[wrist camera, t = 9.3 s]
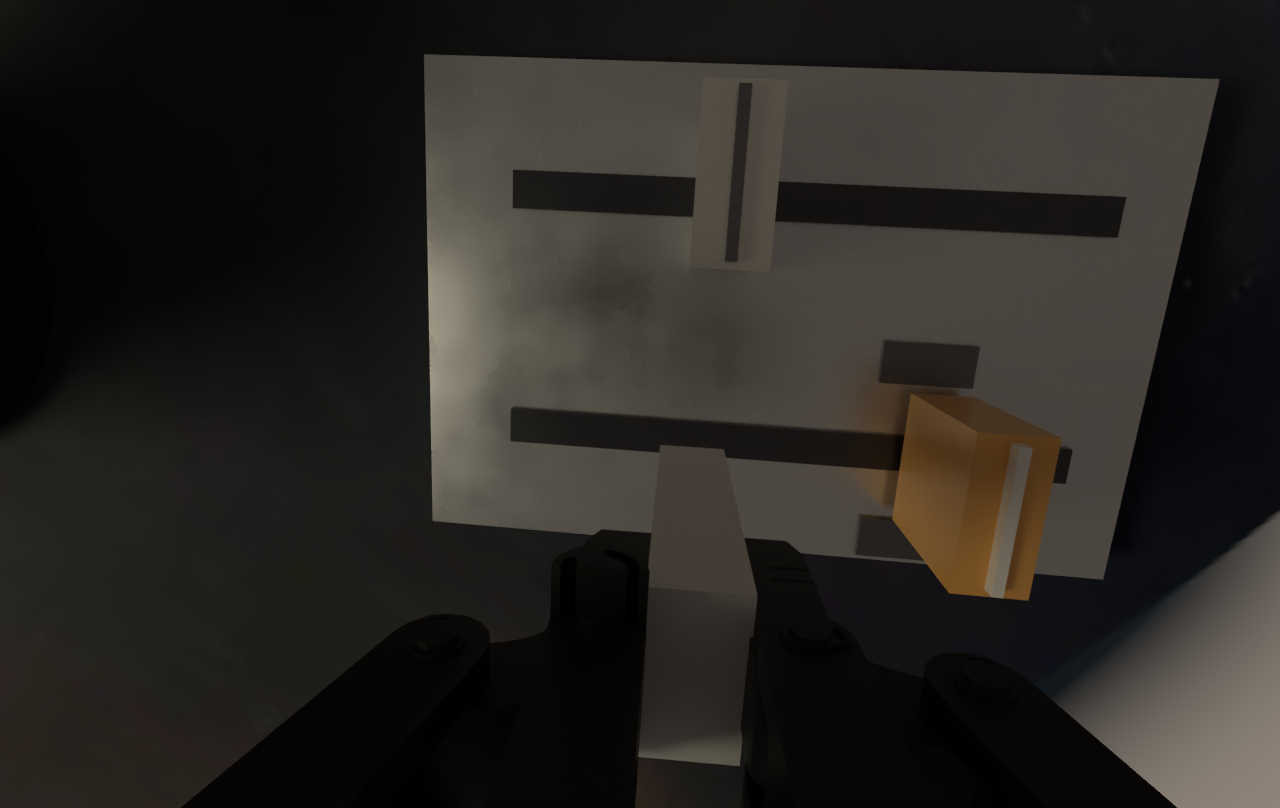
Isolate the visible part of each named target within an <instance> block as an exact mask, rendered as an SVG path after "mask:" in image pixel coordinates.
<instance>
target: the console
mask: <svg viewBox="0 0 1280 808" xmlns="http://www.w3.org/2000/svg"><path fill="white" fill-rule="evenodd" d="M1219 80H1220V79H1197V78H1165V77H1133V76H1101V75H1069V74H1037V73H1005V72H973V71H941V70H909V69H877V68H845V67H813V66H781V65H748V64H716V63H684V62H652V61H620V60H588V59H556V58H524V57H492V56H460V55H428V54H424V82H425V134H426V187H427V239H428V292H429V344H430V397H431V450H432V502H433V521H440V522H452V523H463V524H475V525H486V526H498V527H509V528H520V529H532V530H543V531H555V532H566V533H578V534H589V535H594V534H596V533H597V532H598V531H600V530H601V529H605V530H619V531H632V532H645V533H652V524H653V513H654V503H655V493H656V483H657V473H658V463H659V453H660V445H669V446H684V447H698V448H713V449H724V452H725V457H726V461H727V465H728V470H729V474H730V478H731V483H732V487H733V491H734V496H735V500H736V504H737V509H738V513H739V517H740V522H741V526H742V530H743V535H744V538H753V539H767V540H780V541H787V542H788V543H789V544H790V545H792V546H793V547H794V548H795V549H797V550H798V551H799V552H800V553H807V554H818V555H829V556H841V557H852V558H864V559H875V560H887V561H898V562H910V563H921V564H926V562H925V561H924V560H923V559H922V557H921V556H920V555H919V553H918V552H917V551H916V549H915V548H914V547H913V546H912V544H911V543H910V542H909V540H908V539H907V538H906V537H905V535H904V534H903V533H902V531H901V530H900V529H899V528H898V526H897V525H896V524H895V522H894V521H893V520H892V516H893V510H894V503H895V496H896V490H897V483H898V476H899V470H900V463H901V456H902V450H903V443H904V436H905V430H906V423H907V416H908V410H909V403H910V397H911V393H918V394H933V395H948V396H962V397H975V398H977V399H979V400H981V401H983V402H986V403H988V404H990V405H992V406H994V407H996V408H998V409H1000V410H1003V411H1005V412H1007V413H1009V414H1011V415H1013V416H1015V417H1018V418H1020V419H1022V420H1024V421H1026V422H1028V423H1030V424H1033V425H1035V426H1037V427H1039V428H1041V429H1043V430H1045V431H1047V432H1050V433H1052V434H1054V435H1056V436H1058V437H1060V438H1062V440H1061V445H1060V450H1059V455H1058V460H1057V465H1056V469H1055V474H1054V479H1053V484H1052V489H1051V494H1050V498H1049V503H1048V508H1047V513H1046V518H1045V523H1044V527H1043V532H1042V537H1041V542H1040V547H1039V552H1038V556H1037V561H1036V566H1035V571H1034V573H1035V574H1047V575H1058V576H1070V577H1081V578H1093V579H1103V577H1104V573H1105V568H1106V564H1107V560H1108V555H1109V551H1110V547H1111V543H1112V538H1113V534H1114V530H1115V525H1116V521H1117V517H1118V513H1119V508H1120V504H1121V500H1122V495H1123V491H1124V487H1125V483H1126V478H1127V474H1128V470H1129V465H1130V461H1131V457H1132V453H1133V448H1134V444H1135V440H1136V435H1137V431H1138V427H1139V423H1140V418H1141V414H1142V410H1143V405H1144V401H1145V397H1146V393H1147V388H1148V384H1149V380H1150V375H1151V371H1152V367H1153V363H1154V358H1155V354H1156V350H1157V345H1158V341H1159V337H1160V333H1161V328H1162V324H1163V320H1164V316H1165V311H1166V307H1167V303H1168V298H1169V294H1170V290H1171V286H1172V281H1173V277H1174V273H1175V268H1176V264H1177V260H1178V256H1179V251H1180V247H1181V243H1182V238H1183V234H1184V230H1185V226H1186V221H1187V217H1188V213H1189V208H1190V204H1191V200H1192V196H1193V191H1194V187H1195V183H1196V178H1197V174H1198V170H1199V166H1200V161H1201V157H1202V153H1203V148H1204V144H1205V140H1206V136H1207V131H1208V127H1209V123H1210V118H1211V114H1212V110H1213V106H1214V101H1215V97H1216V93H1217V88H1218V84H1219Z"/></svg>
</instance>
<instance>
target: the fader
mask: <svg viewBox="0 0 1280 808" xmlns="http://www.w3.org/2000/svg"><path fill="white" fill-rule="evenodd" d="M1061 440H1062V438H1060V437H1058V436H1056V435H1054V434H1052V433H1050V432H1047V431H1045V430H1043V429H1041V428H1039V427H1037V426H1035V425H1033V424H1030V423H1028V422H1026V421H1024V420H1022V419H1020V418H1018V417H1015V416H1013V415H1011V414H1009V413H1007V412H1005V411H1003V410H1000V409H998V408H996V407H994V406H992V405H990V404H988V403H986V402H983V401H981V400H979V399H977V398H975V397H962V396H948V395H933V394H918V393H911V397H910V403H909V410H908V416H907V423H906V430H905V436H904V443H903V450H902V456H901V463H900V470H899V476H898V483H897V490H896V496H895V503H894V510H893V516H892V520H893V521H894V522H895V524H896V525H897V526H898V528H899V529H900V530H901V531H902V533H903V534H904V535H905V537H906V538H907V539H908V540H909V542H910V543H911V544H912V546H913V547H914V548H915V549H916V551H917V552H918V553H919V555H920V556H921V557H922V559H923V560H924V561H925V562H926V564H927V565H928V566H929V568H930V569H931V570H932V571H933V573H934V574H935V575H936V577H937V578H938V579H939V580H940V582H941V583H942V584H943V586H944V587H945V588H946V589H947V591H948V592H949V593H952V594H963V595H974V596H985V597H995V598H1007V599H1018V600H1029V595H1030V590H1031V585H1032V581H1033V576H1034V571H1035V566H1036V561H1037V556H1038V552H1039V547H1040V542H1041V537H1042V532H1043V527H1044V523H1045V518H1046V513H1047V508H1048V503H1049V498H1050V494H1051V489H1052V484H1053V479H1054V474H1055V469H1056V465H1057V460H1058V455H1059V450H1060V445H1061Z"/></svg>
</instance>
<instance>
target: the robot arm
mask: <svg viewBox="0 0 1280 808" xmlns="http://www.w3.org/2000/svg"><path fill="white" fill-rule="evenodd" d="M45 324H46V293H45V284H44V277H43V271H42V266H41V261H40V257H39V253H38V249H37V246H36V243H35V240H34V237H33V234H32V231H31V228H30V226H29V223H28V221H27V218H26V216H25V214H24V212H23V209H22V207H21V205H20V203H19V201H18V199H17V198H16V196H15V194H14V192H13V190H12V188H11V187H10V185H9V183H8V182H7V180H6V178H5V177H4V175H3V174H2V172H1V171H0V420H1V419H2V418H3V417H4V416H5V415H6V414H7V413H8V412H9V411H10V410H11V409H12V408H13V407H14V405H15V404H16V403H17V402H18V401H19V399H20V398H21V396H22V395H23V393H24V392H25V390H26V388H27V386H28V385H29V383H30V381H31V379H32V376H33V374H34V372H35V369H36V367H37V364H38V361H39V358H40V354H41V350H42V346H43V340H44V334H45ZM808 570H809V569H808V567H807V564H806V562H805V559H804V557H803V555H802V554H801V553H800V552H799V551H798V550H797V549H795V548H794V547H793V546H792V545H790V544H789V543H788V542H787V541H780V540H767V539H753V538H744V535H743V530H742V526H741V522H740V517H739V513H738V509H737V504H736V500H735V496H734V491H733V487H732V483H731V478H730V474H729V470H728V465H727V461H726V457H725V452H724V449H713V448H698V447H684V446H669V445H660V453H659V463H658V473H657V483H656V493H655V503H654V513H653V524H652V533H645V532H632V531H619V530H605V529H601V530H600V531H598V532H597V533H596V534H594V535H593V536H592V537H590V538H589V539H588V540H587V541H586V544H585V546H584V547H579V548H574V549H571V550H569V551H566V552H564V553H562V554H560V555H559V556H558V557H557V558H556V559H555V560H554V561H553V563H552V567H551V613H550V621H549V624H548V627H547V630H545V631H543V632H542V633H539V634H537V635H534V636H531V637H528V638H524V639H519V640H513V641H506V642H497V643H490V636H489V630H488V629H487V628H486V627H485V626H484V625H483V624H482V623H481V622H480V621H478V620H475V619H473V618H470V617H468V616H463V615H454V614H440V615H438V614H436V615H430V616H427V617H424V618H420V619H417V620H414V621H411V622H409V623H407V624H405V625H404V626H402V627H400V628H399V629H397V630H395V631H394V632H392V633H391V634H390V635H389V636H388V637H386V638H385V639H384V640H383V641H382V642H380V643H379V644H378V645H377V646H376V647H374V648H373V649H372V650H371V651H370V652H368V653H367V654H366V655H365V656H363V657H362V658H361V659H360V660H359V661H357V662H356V663H355V664H354V665H353V666H351V667H350V668H349V669H348V670H347V671H345V672H344V673H343V674H342V675H341V676H339V677H338V678H337V679H336V680H334V681H333V682H332V683H331V684H330V685H328V686H327V687H326V688H325V689H324V690H322V691H321V692H320V693H319V694H318V695H316V696H315V697H314V698H313V699H312V700H310V701H309V702H308V703H307V704H305V705H304V706H303V707H302V708H301V709H299V710H298V711H297V712H296V713H295V714H293V715H292V716H291V717H290V718H289V719H287V720H286V721H285V722H284V723H283V724H281V725H280V726H279V727H278V728H277V729H275V730H274V731H273V732H272V733H270V734H269V735H268V736H267V737H266V738H264V739H263V740H262V741H261V742H260V743H258V744H257V745H256V746H255V747H254V748H252V749H251V750H250V751H249V752H248V753H246V754H245V755H244V756H243V757H241V758H240V759H239V760H238V761H237V762H235V763H234V764H233V765H232V766H231V767H229V768H228V769H227V770H226V771H225V772H223V773H222V774H221V775H220V776H219V777H217V778H216V779H215V780H214V781H212V782H211V783H210V784H209V785H208V786H206V787H205V788H204V789H203V790H202V791H200V792H199V793H198V794H197V795H196V796H194V797H193V798H192V799H191V800H190V801H188V802H187V803H186V804H185V805H184V806H182V807H181V808H635V798H636V785H637V769H638V757H647V758H658V759H669V760H680V761H691V762H702V763H713V764H724V765H734V766H740V756H741V747H742V740H743V748H744V755H745V763H746V764H745V773H744V782H743V791H742V800H741V808H1177V807H1176V806H1175V805H1173V804H1172V803H1171V802H1170V801H1169V800H1168V799H1166V798H1165V797H1164V796H1163V795H1162V794H1161V793H1160V792H1158V791H1157V790H1156V789H1155V788H1154V787H1153V786H1151V785H1150V784H1149V783H1148V782H1147V781H1146V780H1144V779H1143V778H1142V777H1141V776H1140V775H1139V774H1137V773H1136V772H1135V771H1134V770H1133V769H1132V768H1130V767H1129V766H1128V765H1127V764H1126V763H1125V762H1123V761H1122V760H1121V759H1120V758H1119V757H1118V756H1116V755H1115V754H1114V753H1113V752H1112V751H1110V750H1109V749H1108V748H1107V747H1106V746H1105V745H1104V744H1102V743H1101V742H1100V741H1099V740H1098V739H1097V738H1095V737H1094V736H1093V735H1092V734H1091V733H1090V732H1088V731H1087V730H1086V729H1085V728H1084V727H1083V726H1081V725H1080V724H1079V723H1078V722H1077V721H1076V720H1074V719H1073V718H1072V717H1071V716H1070V715H1069V714H1068V713H1066V712H1065V711H1064V710H1063V709H1062V708H1061V707H1059V706H1058V705H1057V704H1056V703H1055V702H1053V701H1052V700H1051V699H1050V698H1049V697H1048V696H1047V695H1045V694H1044V693H1043V692H1042V691H1041V690H1039V689H1038V688H1037V687H1036V686H1035V685H1034V684H1033V683H1031V682H1030V681H1029V680H1027V679H1026V678H1024V677H1023V676H1021V675H1020V674H1019V673H1017V672H1016V671H1014V670H1013V669H1011V668H1009V667H1006V666H1004V665H1002V664H1000V663H998V662H996V661H994V660H992V659H990V658H987V657H983V656H981V657H980V656H978V655H975V654H970V653H952V652H948V653H944V654H940V655H935V656H933V657H932V658H931V659H930V660H929V661H928V662H927V663H926V665H925V671H924V677H923V678H920V677H917V676H913V675H909V674H906V673H902V672H899V671H895V670H891V669H888V668H885V667H883V666H880V665H877V664H874V663H872V662H870V661H868V660H866V658H865V656H864V654H863V652H862V649H861V647H860V645H859V643H858V642H857V640H856V639H855V638H854V636H853V635H852V634H851V633H850V631H848V630H847V629H845V628H844V627H842V626H841V625H839V624H838V623H836V622H834V621H832V620H829V617H828V615H827V613H826V610H825V608H824V605H823V603H822V601H821V598H820V596H819V593H818V591H817V588H816V586H815V585H814V581H813V579H812V576H811V574H810V572H809V571H808Z"/></svg>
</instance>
